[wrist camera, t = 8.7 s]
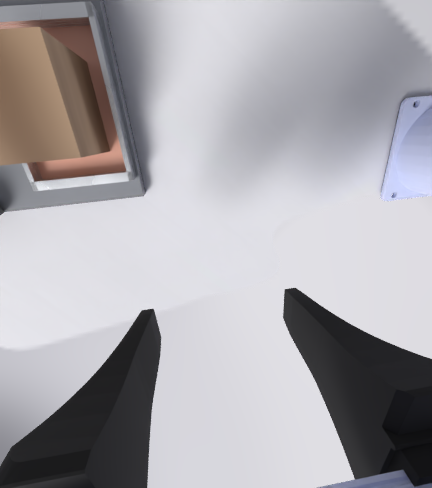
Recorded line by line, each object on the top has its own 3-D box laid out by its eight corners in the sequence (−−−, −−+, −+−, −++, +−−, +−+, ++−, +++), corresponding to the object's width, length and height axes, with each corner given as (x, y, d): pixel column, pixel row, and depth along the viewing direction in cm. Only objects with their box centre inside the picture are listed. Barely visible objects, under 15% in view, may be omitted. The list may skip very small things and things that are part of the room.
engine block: (86, 61, 14) (39, 26, 9) (110, 151, 16) (81, 157, 12) (16, 66, 14) (-67, 33, 9) (50, 157, 16) (-4, 165, 11)
